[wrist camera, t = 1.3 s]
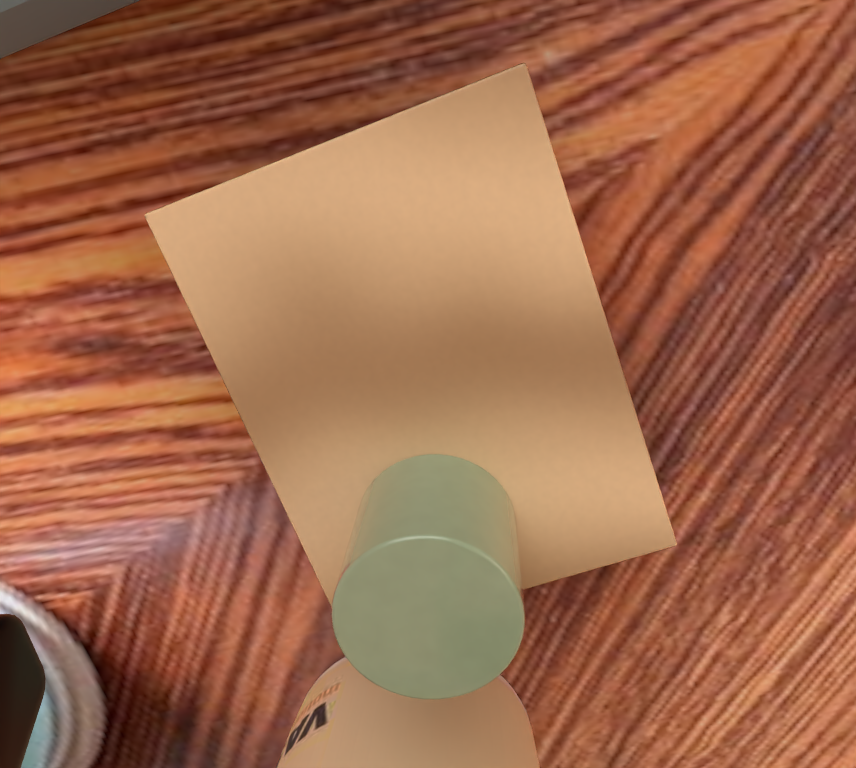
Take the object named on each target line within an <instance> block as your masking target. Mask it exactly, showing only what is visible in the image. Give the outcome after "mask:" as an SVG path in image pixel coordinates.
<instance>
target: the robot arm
mask: <svg viewBox="0 0 856 768" xmlns="http://www.w3.org/2000/svg"><path fill="white" fill-rule="evenodd" d="M44 691H45V673H44V669H43V666H42V664H41V661H40V659H39V657H38V655H37V653H36V650H35V648H34V646H33V644H32V642H31V639H30V637H29V635H28V633H27V631H26V628H25V626H24V624H23V623H22V621H21V620H20V619H19V618H18V617H16V616H15V615H11V614H0V768H21V764H22V761H23V758H24V755H25V752H26V749H27V746H28V743H29V739H30V736H31V733H32V730H33V727H34V724H35V721H36V718H37V714H38V711H39V708H40V705H41V702H42V699H43V695H44Z"/></svg>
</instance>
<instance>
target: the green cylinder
mask: <svg viewBox="0 0 856 768" xmlns="http://www.w3.org/2000/svg"><path fill="white" fill-rule="evenodd" d="M331 617H332V626H333V630H334V634H335V637H336V639H337V642H338V644H339V647H340V648H341V650H342V652H343V654H344V655H345V657H346V658H347V659H348V661H349V662H350V663H351V665H352V666H353V667H354V668H355V669H356V670H357V671H358V672H359V673H360V674H362V675H363V676H364V677H365V678H367V679H368V680H369V681H371V682H373V683H374V684H376V685H377V686H379V687H381V688H383V689H385V690H388V691H390V692H393V693H396V694H398V695H402V696H406V697H410V698H417V699H432V700H437V699H448V698H453V697H458V696H462V695H465V694H468V693H471V692H473V691H475V690H477V689H480V688H482V687H483V686H485V685H487V684H488V683H490V682H491V681H493V680H494V679H495V678H496V677H498V676H499V675H500V674H501V673H502V672H503V671H504V670H505V669H506V668H507V667H508V665H509V664H510V662H511V661H512V660H513V658H514V657H515V655H516V653H517V651H518V649H519V647H520V644H521V641H522V638H523V634H524V628H525V608H524V598H523V587H522V576H521V566H520V555H519V544H518V534H517V523H516V516H515V511H514V508H513V505H512V502H511V500H510V498H509V496H508V494H507V493H506V491H505V489H504V488H503V487H502V485H501V484H500V483H499V482H498V481H497V480H496V479H495V478H494V477H493V476H492V475H491V474H490V473H489V472H487V471H486V470H484V469H483V468H481V467H480V466H478V465H476V464H474V463H472V462H470V461H467V460H465V459H462V458H459V457H454V456H450V455H442V454H427V455H419V456H415V457H411V458H407V459H405V460H402V461H400V462H397V463H395V464H394V465H392V466H390V467H388V468H387V469H386V470H384V471H383V472H382V473H380V474H379V475H378V476H377V477H376V478H375V479H374V480H373V481H372V483H371V484H370V485H369V487H368V488H367V490H366V491H365V493H364V495H363V497H362V500H361V502H360V505H359V508H358V512H357V515H356V519H355V522H354V526H353V529H352V533H351V536H350V540H349V543H348V546H347V550H346V553H345V557H344V560H343V564H342V567H341V571H340V574H339V578H338V581H337V585H336V588H335V592H334V596H333V600H332V609H331Z"/></svg>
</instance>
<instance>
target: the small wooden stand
mask: <svg viewBox="0 0 856 768" xmlns="http://www.w3.org/2000/svg"><path fill="white" fill-rule="evenodd" d="M145 218H146V220H147V222H148V225H149V227H150V229H151V231H152V233H153V235H154V237H155V239H156V241H157V243H158V245H159V248H160V250H161V252H162V254H163V256H164V258H165V260H166V262H167V264H168V266H169V268H170V271H171V273H172V275H173V277H174V279H175V281H176V283H177V285H178V287H179V289H180V291H181V294H182V296H183V298H184V300H185V302H186V304H187V306H188V308H189V310H190V312H191V314H192V317H193V319H194V321H195V323H196V325H197V327H198V329H199V331H200V333H201V335H202V337H203V340H204V342H205V344H206V346H207V348H208V350H209V352H210V354H211V356H212V358H213V360H214V362H215V365H216V367H217V369H218V371H219V373H220V375H221V377H222V379H223V381H224V383H225V385H226V388H227V390H228V392H229V394H230V396H231V398H232V400H233V402H234V404H235V406H236V408H237V411H238V413H239V415H240V417H241V419H242V421H243V423H244V425H245V427H246V429H247V431H248V434H249V436H250V438H251V440H252V442H253V444H254V446H255V448H256V450H257V452H258V454H259V457H260V459H261V461H262V463H263V465H264V467H265V469H266V471H267V473H268V475H269V477H270V480H271V482H272V484H273V486H274V488H275V490H276V492H277V494H278V496H279V498H280V500H281V503H282V505H283V507H284V509H285V511H286V513H287V515H288V517H289V519H290V521H291V523H292V526H293V528H294V530H295V532H296V534H297V536H298V538H299V540H300V542H301V544H302V546H303V549H304V551H305V553H306V555H307V557H308V559H309V561H310V563H311V565H312V567H313V569H314V572H315V574H316V576H317V578H318V580H319V582H320V584H321V586H322V588H323V590H324V592H325V595H326V597H327V599H328V601H329V603H330V605H331V607H332V600H333V596H334V592H335V588H336V585H337V581H338V578H339V574H340V571H341V567H342V564H343V560H344V557H345V553H346V550H347V546H348V543H349V540H350V536H351V533H352V529H353V526H354V522H355V519H356V515H357V512H358V508H359V505H360V502H361V500H362V497H363V495H364V493H365V491H366V490H367V488H368V487H369V485H370V484H371V483H372V481H373V480H374V479H375V478H376V477H377V476H378V475H379V474H380V473H382V472H383V471H384V470H386V469H387V468H388V467H390V466H392V465H394V464H395V463H397V462H400V461H402V460H405V459H407V458H411V457H415V456H419V455H427V454H442V455H450V456H454V457H459V458H462V459H465V460H467V461H470V462H472V463H474V464H476V465H478V466H480V467H481V468H483V469H484V470H486V471H487V472H489V473H490V474H491V475H492V476H493V477H494V478H495V479H496V480H497V481H498V482H499V483H500V484H501V485H502V487H503V488H504V489H505V491H506V493H507V494H508V496H509V498H510V500H511V502H512V505H513V508H514V511H515V516H516V523H517V534H518V544H519V555H520V566H521V576H522V587H523V589H527V588H530V587H534V586H537V585H541V584H544V583H548V582H551V581H555V580H558V579H562V578H565V577H569V576H572V575H576V574H579V573H583V572H586V571H590V570H593V569H597V568H600V567H604V566H607V565H611V564H614V563H618V562H621V561H625V560H628V559H632V558H635V557H639V556H642V555H646V554H649V553H653V552H657V551H660V550H664V549H667V548H671V547H674V546H676V545H677V542H676V538H675V535H674V532H673V529H672V526H671V522H670V519H669V516H668V513H667V510H666V507H665V503H664V500H663V497H662V494H661V491H660V488H659V484H658V481H657V478H656V475H655V472H654V468H653V465H652V462H651V459H650V456H649V453H648V449H647V446H646V443H645V440H644V437H643V434H642V430H641V427H640V424H639V421H638V418H637V414H636V411H635V408H634V405H633V402H632V399H631V395H630V392H629V389H628V386H627V383H626V380H625V376H624V373H623V370H622V367H621V364H620V360H619V357H618V354H617V351H616V348H615V345H614V341H613V338H612V335H611V332H610V329H609V326H608V322H607V319H606V316H605V313H604V310H603V306H602V303H601V300H600V297H599V294H598V291H597V287H596V284H595V281H594V278H593V275H592V272H591V268H590V265H589V262H588V259H587V256H586V252H585V249H584V246H583V243H582V240H581V237H580V233H579V230H578V227H577V224H576V221H575V218H574V214H573V211H572V208H571V205H570V202H569V198H568V195H567V192H566V189H565V186H564V183H563V179H562V176H561V173H560V170H559V167H558V164H557V160H556V157H555V154H554V151H553V148H552V144H551V141H550V138H549V135H548V132H547V129H546V125H545V122H544V119H543V116H542V113H541V110H540V106H539V103H538V100H537V97H536V94H535V90H534V87H533V84H532V81H531V78H530V75H529V71H528V68H527V65H526V64H525V63H522V64H519V65H517V66H514V67H512V68H509V69H507V70H504V71H502V72H499V73H497V74H494V75H492V76H489V77H487V78H484V79H482V80H479V81H477V82H474V83H472V84H469V85H467V86H464V87H462V88H459V89H457V90H454V91H452V92H449V93H447V94H444V95H442V96H439V97H437V98H434V99H432V100H429V101H427V102H424V103H422V104H419V105H417V106H414V107H412V108H409V109H406V110H404V111H401V112H399V113H396V114H394V115H391V116H389V117H386V118H384V119H381V120H379V121H376V122H374V123H371V124H369V125H366V126H364V127H361V128H359V129H356V130H354V131H351V132H349V133H346V134H344V135H341V136H339V137H336V138H334V139H331V140H329V141H326V142H324V143H321V144H319V145H316V146H314V147H311V148H309V149H306V150H304V151H301V152H299V153H296V154H294V155H291V156H289V157H286V158H284V159H281V160H279V161H276V162H274V163H271V164H269V165H266V166H264V167H261V168H259V169H256V170H254V171H251V172H249V173H246V174H244V175H241V176H239V177H236V178H234V179H231V180H229V181H226V182H224V183H221V184H219V185H216V186H214V187H211V188H209V189H206V190H204V191H201V192H199V193H196V194H194V195H191V196H189V197H186V198H184V199H181V200H179V201H176V202H174V203H171V204H169V205H166V206H164V207H161V208H159V209H156V210H154V211H151V212H149V213H146V214H145Z"/></svg>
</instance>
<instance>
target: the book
mask: <svg viewBox="0 0 856 768" xmlns="http://www.w3.org/2000/svg"><path fill="white" fill-rule="evenodd" d="M137 1H140V0H0V59H1V58H3V57H5V56H8V55H10V54H13V53H15V52H17V51H20V50H22V49H24V48H27V47H29V46H32V45H34V44H36V43H39V42H41V41H44V40H46V39H48V38H51V37H53V36H56V35H58V34H60V33H63V32H65V31H68V30H70V29H72V28H75V27H77V26H80V25H82V24H84V23H87V22H89V21H92V20H94V19H96V18H99V17H101V16H104V15H106V14H108V13H111V12H113V11H116V10H118V9H120V8H123V7H125V6H128V5H130V4H132V3H135V2H137Z"/></svg>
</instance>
